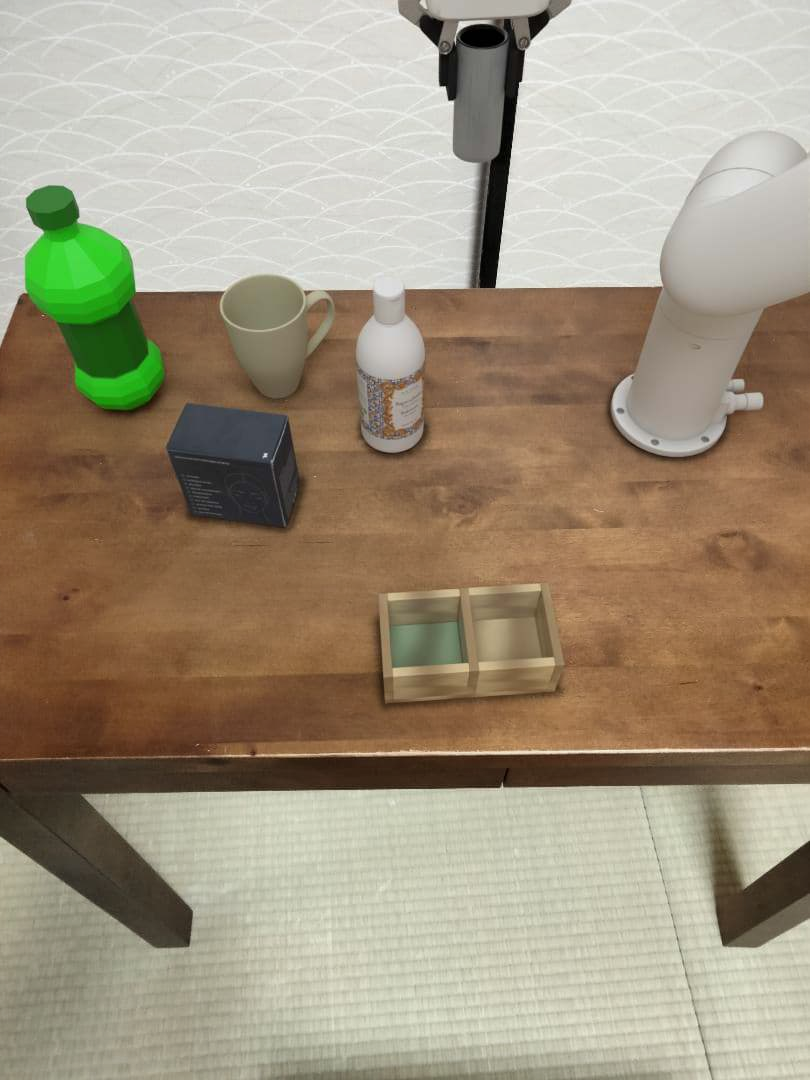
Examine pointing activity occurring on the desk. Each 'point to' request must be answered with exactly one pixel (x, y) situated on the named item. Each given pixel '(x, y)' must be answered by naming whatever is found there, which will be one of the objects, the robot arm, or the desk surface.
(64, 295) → the plastic bottle
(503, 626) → the wooden divided tray
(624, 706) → the desk surface
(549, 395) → the desk surface
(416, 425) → the bath foam
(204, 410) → the box
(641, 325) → the desk surface
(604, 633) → the desk surface
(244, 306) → the mug
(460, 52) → the grey hollow cylinder
